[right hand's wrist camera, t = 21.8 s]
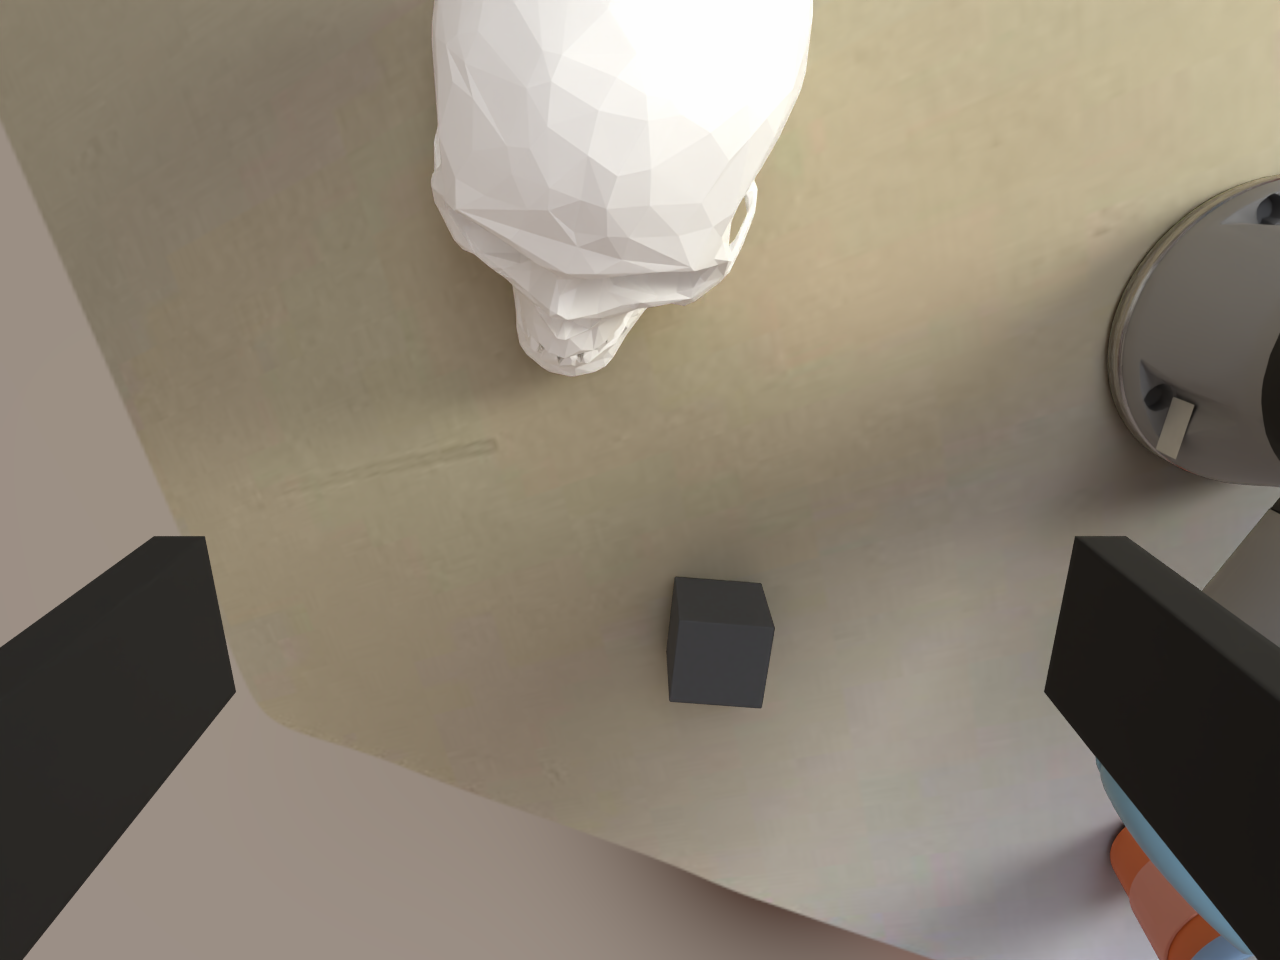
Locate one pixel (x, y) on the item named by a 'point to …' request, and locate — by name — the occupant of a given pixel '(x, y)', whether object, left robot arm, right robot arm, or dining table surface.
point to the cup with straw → (1165, 909)
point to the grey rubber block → (718, 643)
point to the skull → (607, 151)
